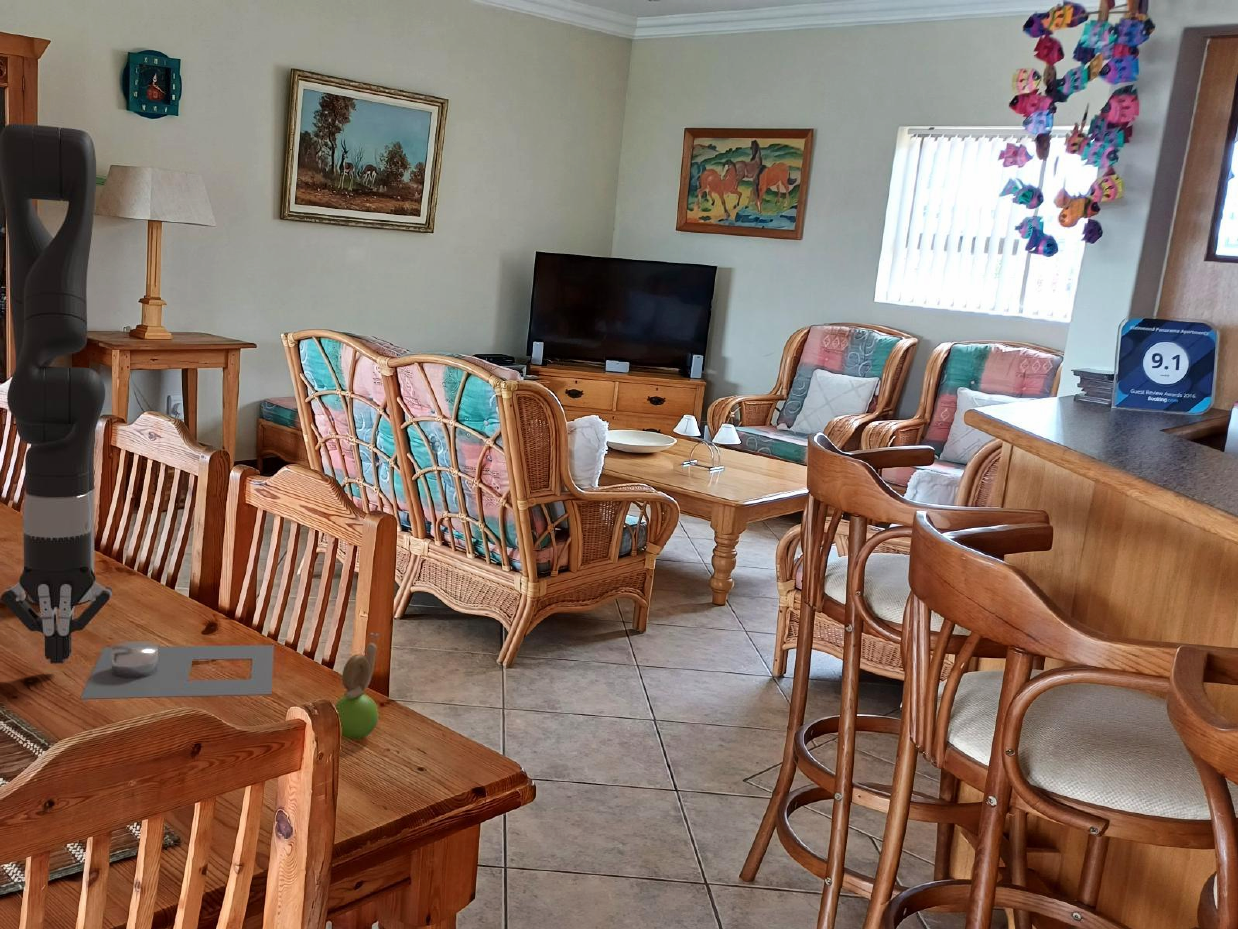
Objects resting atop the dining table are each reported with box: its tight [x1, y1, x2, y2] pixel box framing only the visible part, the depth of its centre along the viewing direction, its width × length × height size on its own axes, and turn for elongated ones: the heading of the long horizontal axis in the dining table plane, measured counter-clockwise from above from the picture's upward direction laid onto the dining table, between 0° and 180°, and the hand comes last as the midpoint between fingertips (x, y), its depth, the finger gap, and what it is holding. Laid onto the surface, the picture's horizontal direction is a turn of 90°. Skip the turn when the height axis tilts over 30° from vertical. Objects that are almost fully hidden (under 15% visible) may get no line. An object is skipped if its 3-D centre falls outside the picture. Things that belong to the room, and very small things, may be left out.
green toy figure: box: [334, 632, 380, 740], centre depth 136 cm, size 5×6×12 cm
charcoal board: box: [79, 644, 275, 700], centre depth 149 cm, size 22×18×2 cm
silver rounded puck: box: [112, 640, 159, 679], centre depth 147 cm, size 6×6×3 cm
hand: (57, 661), depth 145 cm, fingers closed
